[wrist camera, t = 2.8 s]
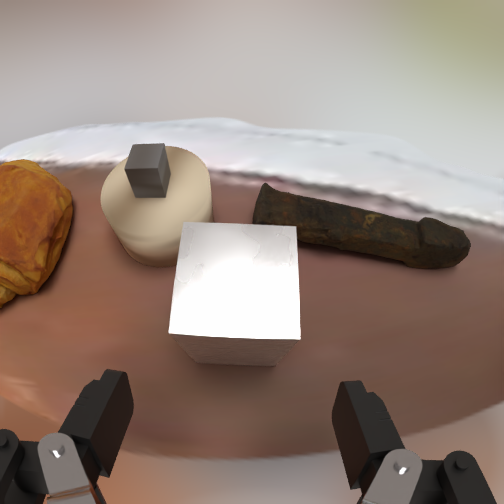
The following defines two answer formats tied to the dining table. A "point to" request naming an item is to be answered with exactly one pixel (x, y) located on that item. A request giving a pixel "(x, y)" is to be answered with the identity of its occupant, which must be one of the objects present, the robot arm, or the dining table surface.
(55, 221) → the croissant
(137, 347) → the dining table surface
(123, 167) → the cream rounded block
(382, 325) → the dining table surface
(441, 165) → the dining table surface
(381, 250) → the hand tool
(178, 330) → the light grey block
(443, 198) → the dining table surface
